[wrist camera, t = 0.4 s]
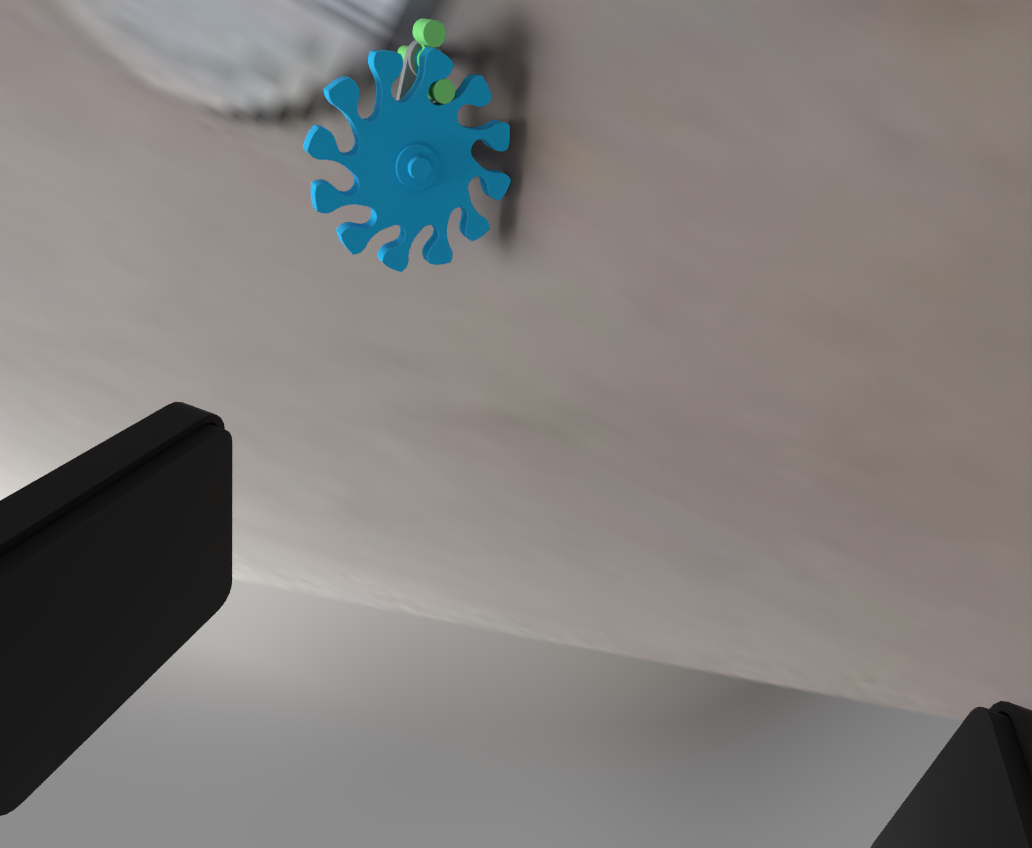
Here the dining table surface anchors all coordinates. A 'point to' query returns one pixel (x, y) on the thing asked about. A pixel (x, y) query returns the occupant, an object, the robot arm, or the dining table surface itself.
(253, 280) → the dining table surface
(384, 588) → the dining table surface
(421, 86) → the blue lobed cog wheel
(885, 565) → the dining table surface
